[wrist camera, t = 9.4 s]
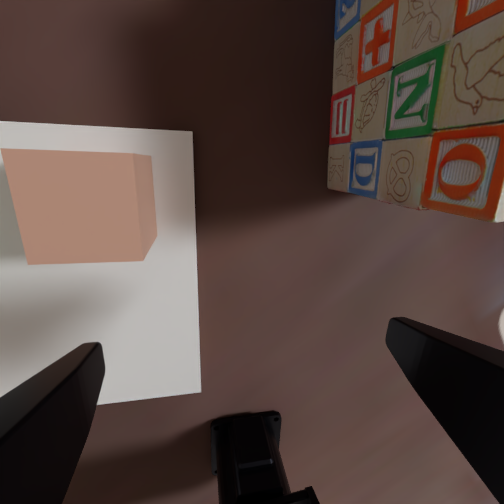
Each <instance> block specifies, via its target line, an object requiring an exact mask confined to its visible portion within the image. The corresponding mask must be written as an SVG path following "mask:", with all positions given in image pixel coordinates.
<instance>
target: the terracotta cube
mask: <svg viewBox="0 0 504 504" xmlns="http://www.w3.org/2000/svg"><path fill="white" fill-rule="evenodd" d="M0 150H1V154H2V158H3V162H4V167H5V171H6V175H7V179H8V183H9V188H10V192H11V196H12V200H13V205H14V209H15V213H16V217H17V221H18V226H19V230H20V234H21V238H22V242H23V247H24V251H25V255H26V259H27V264H28V265H39V264H70V263H101V262H132V261H144V259H145V257H146V255H147V253H148V252H149V250H150V248H151V246H152V245H153V243H154V241H155V239H156V237H157V224H156V211H155V198H154V185H153V173H152V160H151V156H148V155H141V154H135V153H114V152H87V151H61V150H34V149H8V148H0Z"/></svg>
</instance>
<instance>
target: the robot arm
mask: <svg viewBox="0 0 504 504" xmlns="http://www.w3.org/2000/svg"><path fill="white" fill-rule="evenodd" d="M386 345H387V347H388V348H389V350H390V352H391V353H392V355H393V356H394V358H395V360H396V361H397V363H398V364H399V366H400V368H401V369H402V371H403V373H404V374H405V376H406V377H407V379H408V381H409V382H410V384H411V385H412V387H413V388H414V390H415V391H416V392H417V394H418V395H419V396H420V398H421V399H422V400H423V402H424V403H425V404H426V406H427V407H428V408H429V410H430V411H431V412H432V414H433V415H434V417H435V418H436V419H437V421H438V422H439V423H440V425H441V426H442V427H443V429H444V430H445V431H446V433H447V434H448V435H449V437H450V438H451V439H452V441H453V442H454V443H455V445H456V446H457V447H458V449H459V450H460V451H461V453H462V454H463V455H464V457H465V458H466V459H467V461H468V462H469V463H470V465H471V466H472V467H473V469H474V470H475V471H476V473H477V474H478V475H479V477H480V478H481V479H482V481H483V482H484V483H485V485H486V486H487V487H488V489H489V490H490V492H491V493H492V494H493V496H494V497H495V498H496V500H497V501H498V502H499V504H504V351H501V350H498V349H495V348H493V347H490V346H487V345H484V344H481V343H478V342H475V341H472V340H469V339H466V338H463V337H461V336H458V335H455V334H452V333H449V332H446V331H443V330H440V329H437V328H434V327H432V326H429V325H426V324H423V323H420V322H417V321H414V320H411V319H408V318H405V317H394V318H391V319H390V321H389V324H388V329H387V334H386ZM104 376H105V361H104V355H103V349H102V345H101V343H100V342H88V343H83V344H81V345H80V346H78V347H77V348H75V349H73V350H72V351H70V352H69V353H67V354H66V355H64V356H63V357H61V358H60V359H58V360H57V361H55V362H54V363H52V364H51V365H49V366H47V367H46V368H44V369H43V370H41V371H40V372H38V373H37V374H35V375H34V376H32V377H31V378H29V379H28V380H26V381H24V382H23V383H21V384H20V385H18V386H17V387H15V388H14V389H12V390H11V391H9V392H8V393H6V394H5V395H3V396H1V397H0V504H62V502H63V500H64V497H65V494H66V492H67V489H68V487H69V484H70V481H71V479H72V476H73V474H74V471H75V468H76V466H77V463H78V461H79V458H80V455H81V453H82V450H83V448H84V445H85V442H86V440H87V437H88V434H89V431H90V428H91V424H92V421H93V417H94V413H95V410H96V406H97V402H98V398H99V395H100V391H101V387H102V383H103V380H104ZM280 429H281V415H280V413H279V412H269V413H262V414H255V415H248V416H241V417H234V418H227V419H220V420H215V421H213V422H212V423H211V462H212V474H213V475H217V479H218V495H219V504H320V503H319V501H318V499H317V497H316V494H315V492H314V490H313V488H312V486H309V487H306V488H305V489H304V490H300V491H297V492H293V493H291V491H290V487H289V484H288V480H287V477H286V473H285V470H284V466H283V463H282V459H281V455H280V452H279V441H280Z"/></svg>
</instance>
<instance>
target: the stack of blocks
mask: <svg viewBox="0 0 504 504" xmlns="http://www.w3.org/2000/svg"><path fill="white" fill-rule="evenodd" d="M334 39H335V45H334V67H333V95H332V97H331V117H330V141H329V156H328V179H327V187H328V189H332V190H337V191H342V192H347V193H353V194H357V195H361V196H365V197H369V198H373V199H378V200H379V201H381V202H386V203H389V204H395V205H398V206H403V207H406V208H412V209H416V210H428V209H432V210H437V211H441V212H446V213H451V214H455V215H460V216H464V217H469V218H473V219H478V220H483V221H487V222H504V0H336V9H335V33H334Z"/></svg>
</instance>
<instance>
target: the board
mask: <svg viewBox="0 0 504 504" xmlns="http://www.w3.org/2000/svg"><path fill="white" fill-rule="evenodd" d="M0 148H8V149H34V150H61V151H87V152H114V153H135V154H141V155H148V156H151V160H152V173H153V185H154V198H155V211H156V224H157V237H156V239H155V241H154V243H153V245H152V246H151V248H150V250H149V252H148V253H147V255H146V257H145V259H144V261H132V262H101V263H70V264H39V265H28V264H27V259H26V255H25V251H24V247H23V242H22V238H21V234H20V230H19V226H18V221H17V217H16V213H15V209H14V205H13V200H12V196H11V192H10V188H9V183H8V179H7V175H6V171H5V167H4V162H3V158H2V154H1V150H0V397H1V396H3V395H5V394H6V393H8V392H9V391H11V390H12V389H14V388H15V387H17V386H18V385H20V384H21V383H23V382H24V381H26V380H28V379H29V378H31V377H32V376H34V375H35V374H37V373H38V372H40V371H41V370H43V369H44V368H46V367H47V366H49V365H51V364H52V363H54V362H55V361H57V360H58V359H60V358H61V357H63V356H64V355H66V354H67V353H69V352H70V351H72V350H73V349H75V348H77V347H78V346H80V345H81V344H83V343H88V342H100V343H101V345H102V349H103V355H104V361H105V376H104V380H103V383H102V387H101V391H100V395H99V398H98V402H97V405H100V404H108V403H116V402H124V401H133V400H141V399H149V398H157V397H165V396H174V395H182V394H190V393H198V392H201V372H200V342H199V312H198V281H197V251H196V221H195V191H194V161H193V132H192V131H174V130H155V129H137V128H118V127H100V126H81V125H62V124H44V123H25V122H7V121H0Z"/></svg>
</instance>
